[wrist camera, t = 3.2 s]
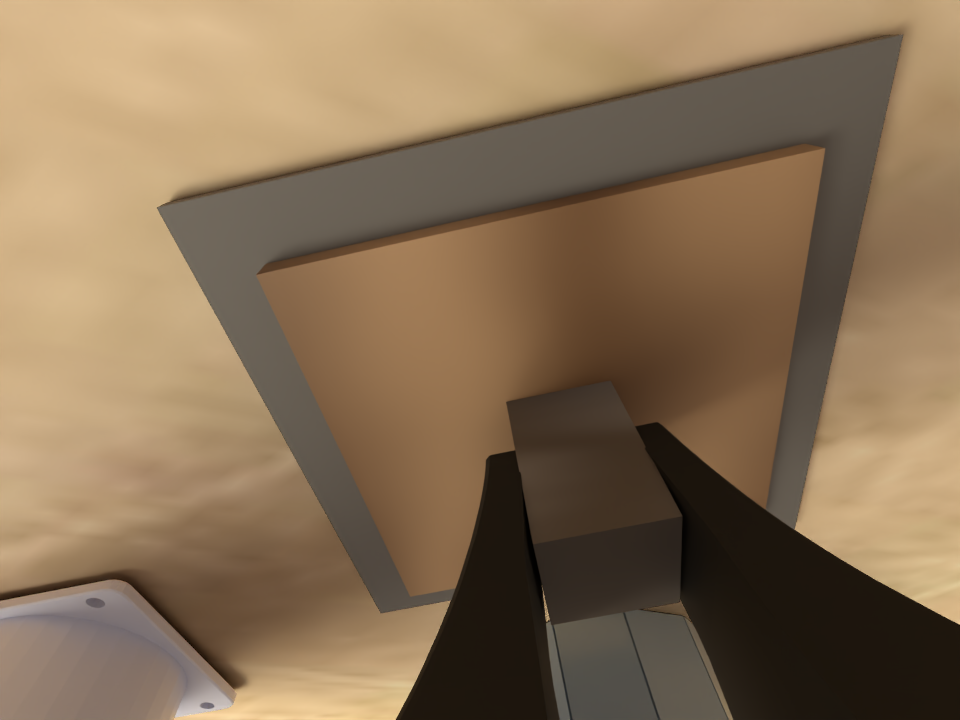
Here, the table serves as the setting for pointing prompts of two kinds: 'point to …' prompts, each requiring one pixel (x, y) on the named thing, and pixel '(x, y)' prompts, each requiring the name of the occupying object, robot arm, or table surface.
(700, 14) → the table surface
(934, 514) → the table surface
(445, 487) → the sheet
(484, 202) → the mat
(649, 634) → the bowl
